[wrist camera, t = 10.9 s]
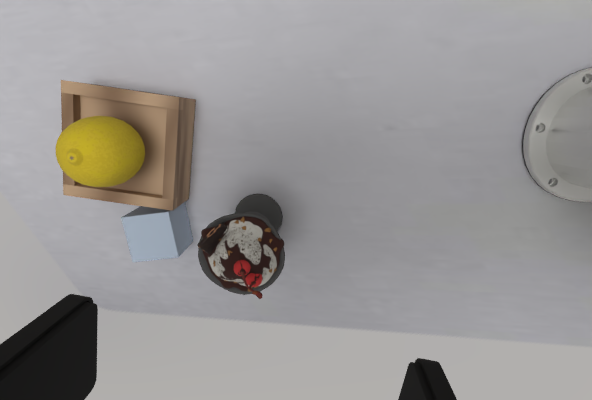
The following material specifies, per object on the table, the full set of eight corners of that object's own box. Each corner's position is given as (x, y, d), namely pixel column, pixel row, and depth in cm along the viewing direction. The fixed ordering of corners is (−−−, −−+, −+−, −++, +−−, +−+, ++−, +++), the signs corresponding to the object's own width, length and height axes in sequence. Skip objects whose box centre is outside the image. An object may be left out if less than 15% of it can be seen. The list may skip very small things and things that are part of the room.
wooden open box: (195, 99, 34) (179, 97, 29) (188, 198, 36) (172, 210, 32) (92, 84, 33) (60, 80, 29) (92, 184, 36) (63, 194, 32)
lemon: (116, 185, 32) (56, 208, 24) (88, 128, 31) (15, 133, 23) (169, 165, 32) (125, 181, 24) (143, 106, 30) (87, 103, 23)
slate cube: (184, 200, 36) (168, 211, 32) (193, 240, 37) (178, 257, 33) (143, 205, 36) (121, 217, 32) (152, 245, 38) (132, 262, 33)
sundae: (297, 239, 37) (292, 321, 22) (236, 251, 37) (192, 340, 23) (283, 179, 35) (267, 226, 21) (219, 193, 36) (161, 248, 21)
